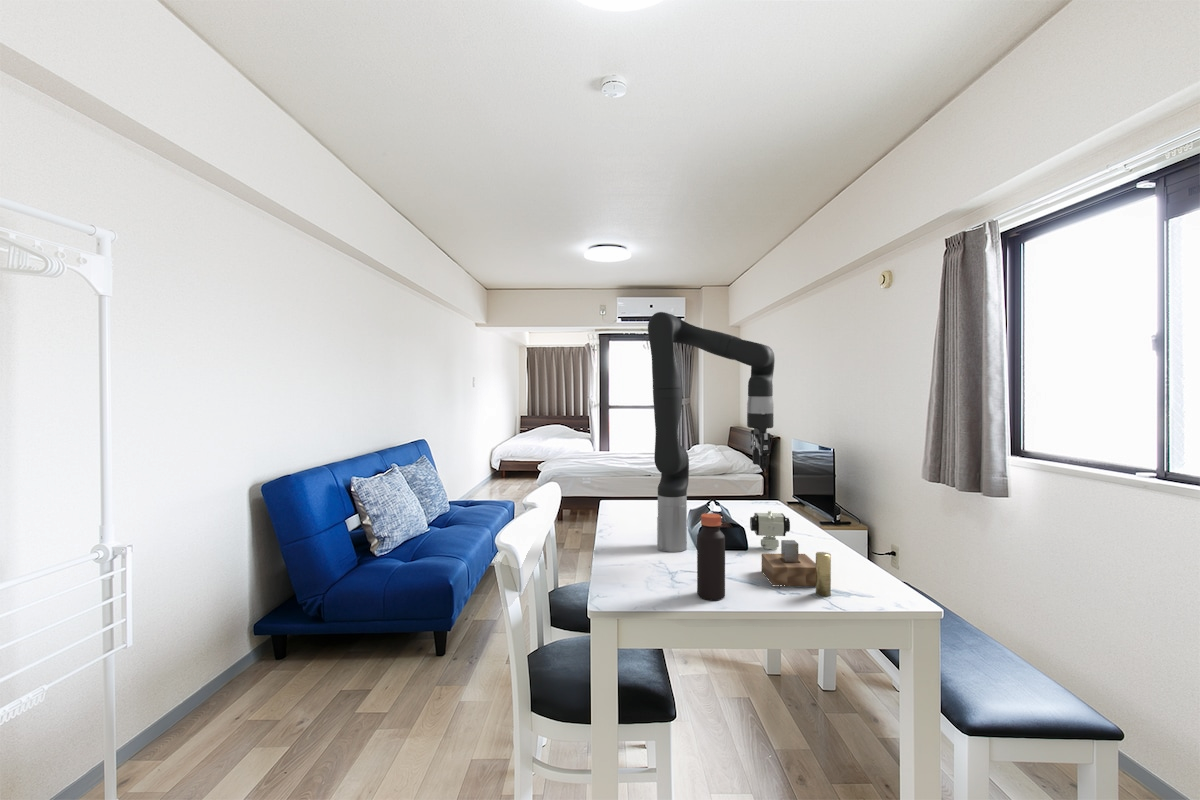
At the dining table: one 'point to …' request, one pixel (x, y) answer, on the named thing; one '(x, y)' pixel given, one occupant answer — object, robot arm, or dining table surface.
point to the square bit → (789, 551)
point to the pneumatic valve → (769, 527)
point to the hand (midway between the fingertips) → (760, 466)
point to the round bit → (823, 574)
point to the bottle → (711, 558)
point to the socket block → (789, 570)
